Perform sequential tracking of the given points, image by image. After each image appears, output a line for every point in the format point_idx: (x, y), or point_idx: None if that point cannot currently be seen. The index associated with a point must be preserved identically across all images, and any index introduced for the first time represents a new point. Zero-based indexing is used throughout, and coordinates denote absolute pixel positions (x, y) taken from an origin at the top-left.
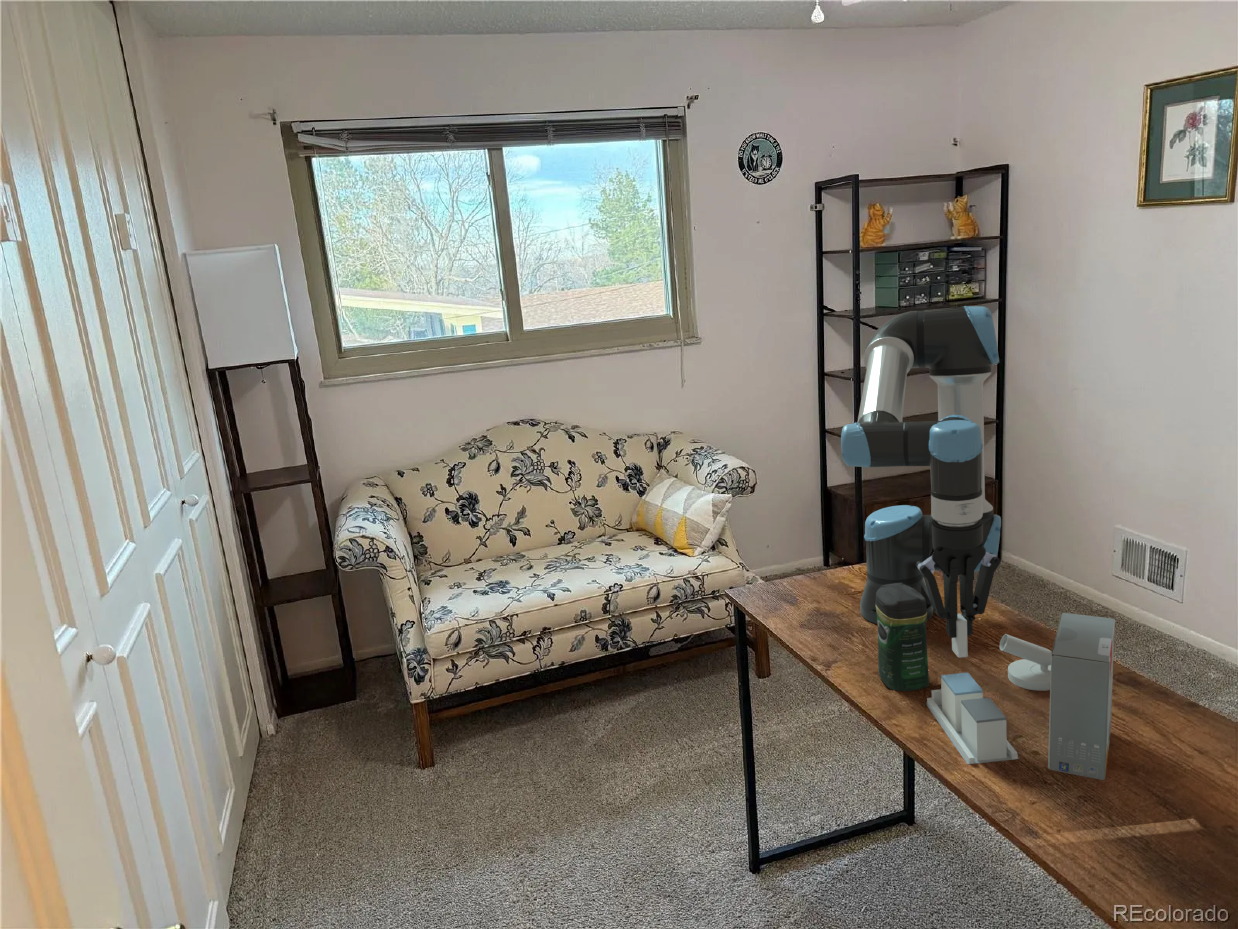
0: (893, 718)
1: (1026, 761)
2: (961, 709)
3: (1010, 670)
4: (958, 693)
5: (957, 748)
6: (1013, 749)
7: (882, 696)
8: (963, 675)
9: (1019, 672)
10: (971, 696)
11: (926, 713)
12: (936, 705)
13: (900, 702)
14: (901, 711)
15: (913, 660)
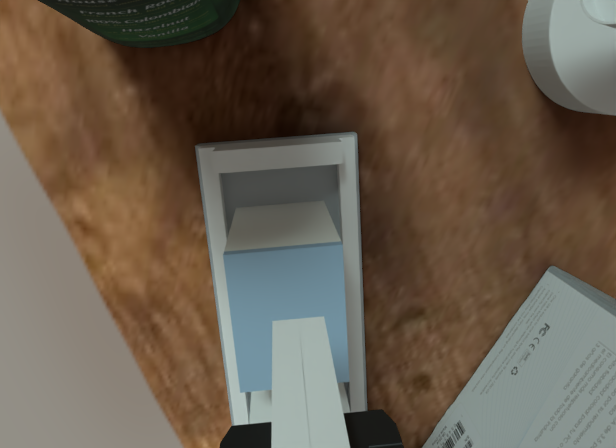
0: (80, 189)
1: (386, 412)
2: (250, 414)
3: (561, 3)
4: (254, 388)
5: (229, 388)
6: None
7: (57, 36)
8: (316, 267)
9: (583, 25)
10: None
11: (194, 172)
12: (219, 200)
13: (118, 90)
14: (113, 150)
15: (146, 20)
